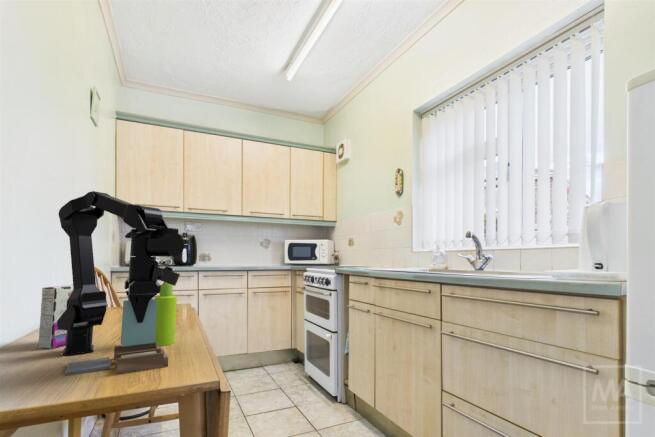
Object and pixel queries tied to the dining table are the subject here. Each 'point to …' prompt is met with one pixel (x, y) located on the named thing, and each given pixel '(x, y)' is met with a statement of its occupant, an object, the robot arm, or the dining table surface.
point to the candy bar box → (53, 316)
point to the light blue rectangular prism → (138, 325)
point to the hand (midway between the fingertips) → (139, 321)
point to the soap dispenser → (166, 316)
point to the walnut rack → (139, 358)
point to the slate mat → (87, 366)
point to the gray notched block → (138, 354)
